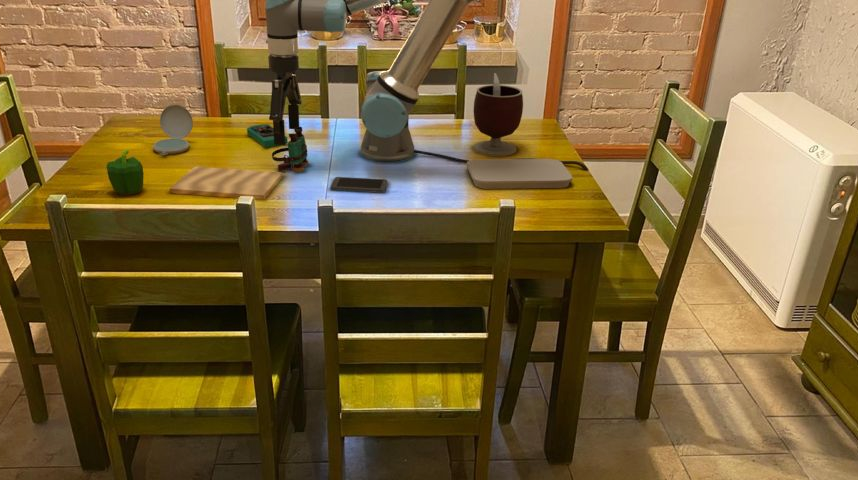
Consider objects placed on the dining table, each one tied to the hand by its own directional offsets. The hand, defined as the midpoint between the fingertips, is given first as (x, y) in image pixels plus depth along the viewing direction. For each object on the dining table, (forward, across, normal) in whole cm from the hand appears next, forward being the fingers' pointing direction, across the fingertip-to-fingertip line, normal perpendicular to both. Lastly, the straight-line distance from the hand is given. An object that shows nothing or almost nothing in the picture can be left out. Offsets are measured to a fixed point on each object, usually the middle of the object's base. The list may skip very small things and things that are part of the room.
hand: (287, 136), depth 194 cm
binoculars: (+9, 0, 0) cm, 9 cm away
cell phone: (+8, +10, +22) cm, 25 cm away
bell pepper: (+9, +24, -34) cm, 42 cm away
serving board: (+9, +15, -12) cm, 21 cm away
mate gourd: (+8, -27, +54) cm, 61 cm away
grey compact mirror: (+9, -8, -37) cm, 39 cm away
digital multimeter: (+9, -21, -13) cm, 26 cm away
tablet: (+8, -4, +61) cm, 62 cm away
